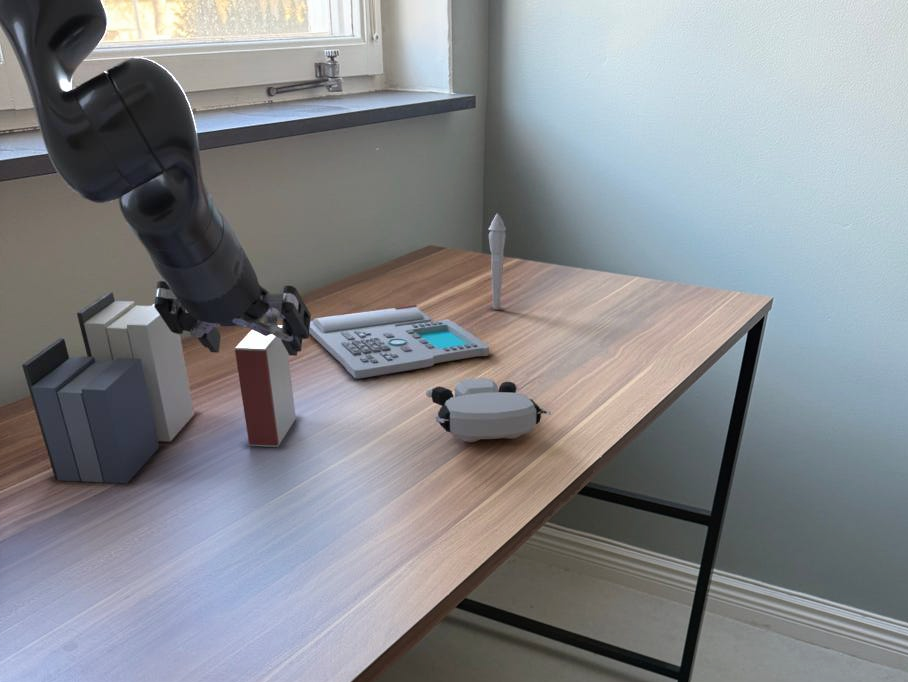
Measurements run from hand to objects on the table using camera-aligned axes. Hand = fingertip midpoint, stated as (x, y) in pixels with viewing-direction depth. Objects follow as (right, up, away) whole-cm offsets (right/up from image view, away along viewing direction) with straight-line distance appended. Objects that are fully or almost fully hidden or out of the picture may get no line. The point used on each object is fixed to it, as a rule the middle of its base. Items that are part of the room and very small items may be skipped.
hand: (255, 346), depth 98 cm
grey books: (-16, -12, +1) cm, 20 cm away
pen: (+26, +20, +46) cm, 57 cm away
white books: (-14, -7, +9) cm, 18 cm away
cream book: (0, -8, +8) cm, 11 cm away
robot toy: (+24, -7, +9) cm, 27 cm away
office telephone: (+12, +11, +33) cm, 37 cm away
